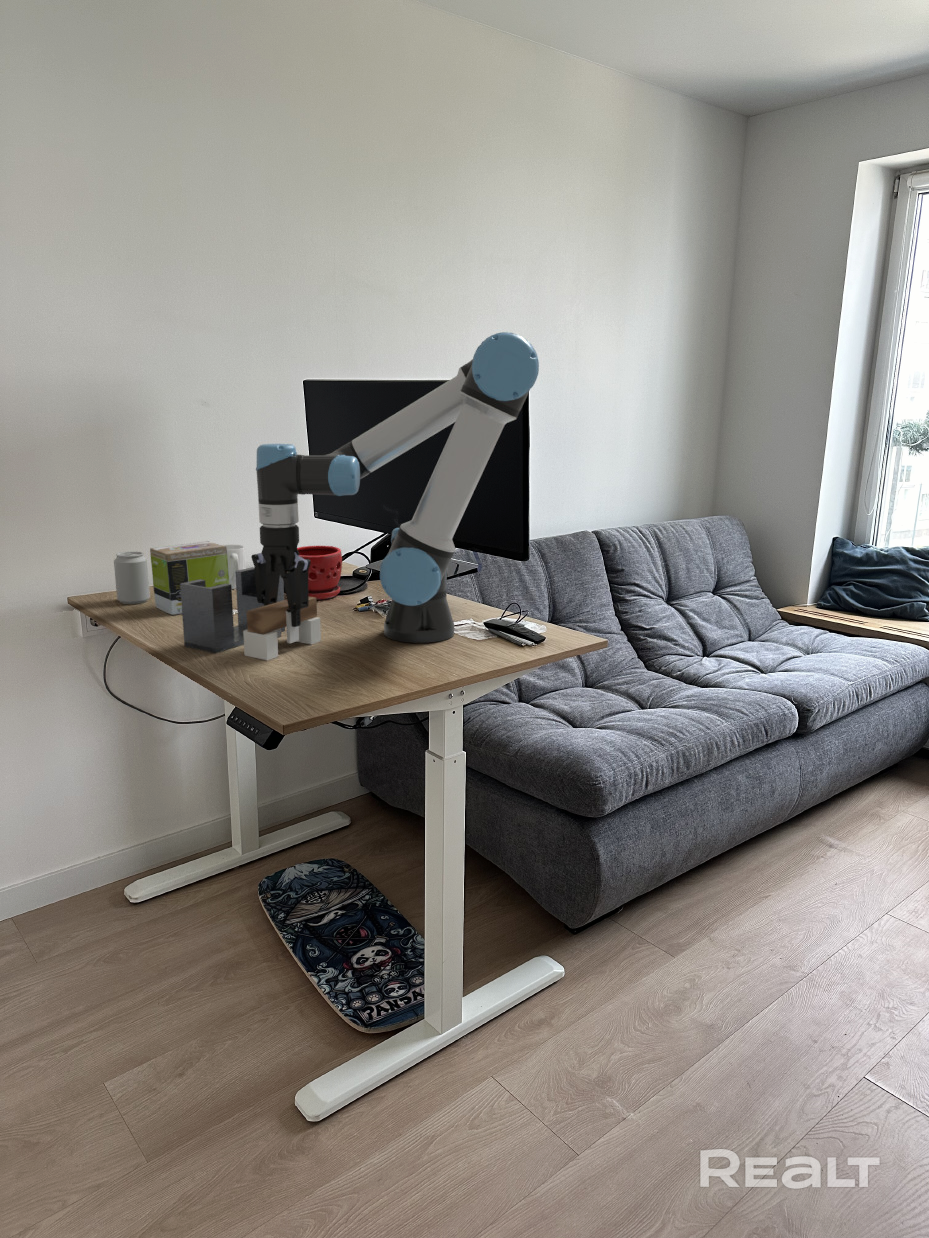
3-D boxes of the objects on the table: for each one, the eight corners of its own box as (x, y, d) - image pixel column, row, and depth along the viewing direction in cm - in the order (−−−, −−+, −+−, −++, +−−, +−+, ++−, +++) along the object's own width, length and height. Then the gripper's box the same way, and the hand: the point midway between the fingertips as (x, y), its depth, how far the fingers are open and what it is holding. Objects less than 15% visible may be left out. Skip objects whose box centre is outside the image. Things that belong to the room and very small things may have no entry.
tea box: (213, 598, 216) (209, 540, 213) (231, 606, 209) (228, 545, 205) (153, 607, 207) (149, 546, 203) (171, 616, 200) (166, 552, 196)
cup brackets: (285, 630, 189) (283, 571, 186) (215, 653, 172) (212, 589, 169) (255, 624, 193) (252, 567, 190) (184, 646, 176) (180, 583, 173)
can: (131, 606, 207) (126, 557, 204) (110, 602, 211) (106, 553, 208) (156, 600, 214) (153, 552, 211) (136, 596, 217) (132, 549, 214)
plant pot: (293, 590, 226) (292, 545, 223) (344, 590, 227) (343, 545, 224) (286, 602, 214) (284, 554, 211) (340, 602, 215) (339, 554, 212)
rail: (317, 616, 181) (316, 597, 180) (263, 634, 167) (262, 613, 166) (302, 613, 183) (301, 595, 182) (247, 631, 169) (246, 611, 168)
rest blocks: (320, 641, 182) (320, 617, 180) (267, 660, 168) (266, 635, 167) (298, 636, 184) (297, 613, 183) (244, 655, 171) (243, 630, 170)
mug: (212, 584, 232) (210, 545, 229) (242, 582, 235) (240, 543, 232) (222, 594, 221) (219, 553, 218) (253, 591, 225) (251, 551, 222)
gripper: (233, 523, 171) (239, 637, 177) (300, 531, 163) (304, 650, 169) (259, 518, 177) (265, 629, 183) (325, 525, 169) (329, 641, 175)
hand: (284, 639), depth 176 cm, fingers closed on rail, 4 cm apart
